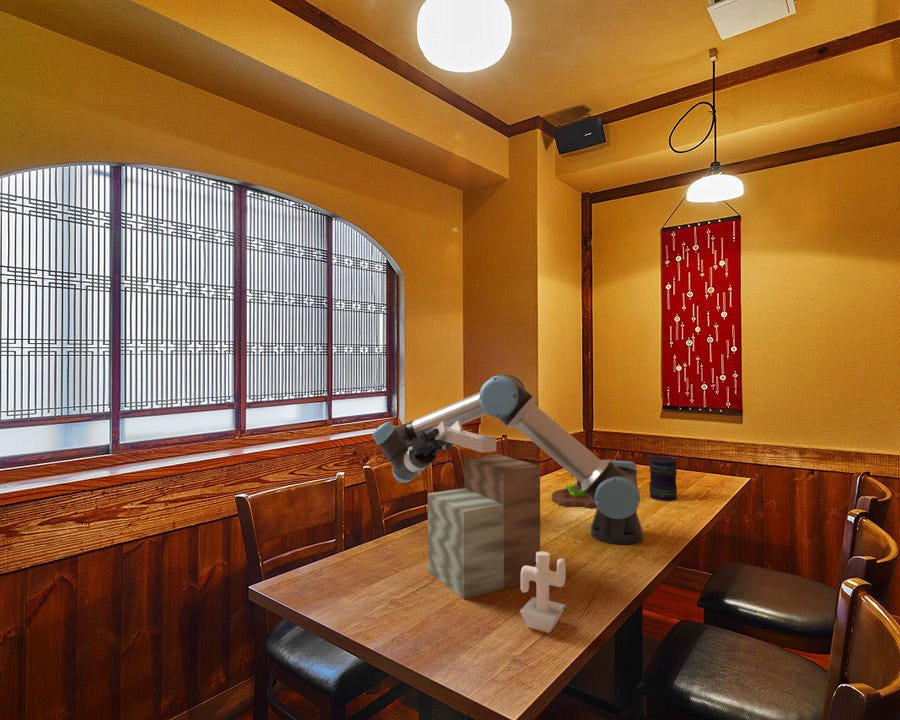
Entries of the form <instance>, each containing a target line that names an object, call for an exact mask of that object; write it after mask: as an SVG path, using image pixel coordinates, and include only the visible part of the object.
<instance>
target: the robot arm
mask: <svg viewBox="0 0 900 720" xmlns="http://www.w3.org/2000/svg"><path fill="white" fill-rule="evenodd" d="M486 415H489V416H490V417H493V418H497V419H498V420H500V421H501V422H502V423H503V424H504V425H505V426H507V427H508V428H517V429H518V430H519V431H520V432H521V433H523V434H524V435H525V436H526V437H527V438H528V439H529V440H530V441H531V442H533V443H534V444H535V445H536V446H537V447H538V448H540V449H541V450H542V451H543V452H544V453H545V454H547V455H548V456H549V457H550V458H552V459H553V460H554V461H555V462H556V463H557V464H559V465H560V466H561V467H562V468H563V469H564V470H565V471H566V472H568V473H569V475H570V474H571V475H573V477H574V479H576V481H577V480H578V481H579V482H581V486H582V491H583V492H584V493H585V494H586V495H587V496H589V497H590V498H591V499H592V500H593V501H594V502H595V504H596V506H597V508H596V509H595V513H594V516H593V519H592V522H591V525H590V535H591V536H592V537H593V538H594V539H596V540H598V541H600V542H603V543H609V544H615V545H633V544H637V543H640V542H642V541H643V539H644V537H643V535H644V532H643V527H642V525H641V524H642V523H641V521H640V519H639V515H638V513H637V509H638V508H639V504H640V501H641V492H640V490H639V487H638V482H637V481H638V479H637V478H638V477H637V476H638V474H637V473H638V469H637V464H636V463H635V462H633V461H629V460H617V459H615V460H614V459H600V458H599V457H598V456H596V455H595V454H594V453H593V452H592V451H591V450H589V449H588V448H587V447H586V446H585V445H584V444H582V443H581V442H580V441H579V440H578V439H576V437H574V436H572V434H571V433H569V432H568V431H567V430H565V429H564V428H563V427H562V426H561V425H560V424H559V423H557V422H556V421H555V420H554V419H553V418H551V417H550V416H549V415H548V414H546V412H544V411H543V410H541V409H540V407H538V406H537V405H536V404H535V397H534V396H533V395H532V394H531V393H530V392H529V391H527V390H526V388H525V386H524V383H523V382H522V381H521V380H520V379H519V378H518V377H516V376H515V375H510V374H503V375H495V376H492V377H490V378H489V379H487V380H486V381H485V382H484V383H483V384H482V386H481V388H480V390H479V392H476V393H474V394H472V395H470V396H467V397H464V398H462V399H460V400H458V401H456V402H453V403H451V404H448V405H447V406H444V407H441V408H439V409H437V410H435V411H432V412H430V413H427V414H425V415H423V416H420V417H418V418H416V419H413V420H411V421H408V422H406V423H404V424H401V425H398V426H395V425H394V424H393V423H392V422H391V421H386V422H384V423H383V424H381V425H380V426H378V427H377V428H376V429H374V430H373V432H372V434H371V436H372V438H373V440H374V441H375V443H376V445H377V446H378V447H379V449H380V450H381V451H382V453H383V454H384V455H385V457H386V458H387V460H389V462H390V464H391V466H392V470H391V471H392V475H393V477H394V479H395V480H396V481H398V482H399V483H404V484H405V483H409V482H411V481H413V480H414V479H415V478H416V477H418V475H420V474H421V473H422V472H423V471H424V470H425V469H426V468H427V467H428V466H430V465H431V464H432V463H433V462H434V461H435V459H436V457H437V454H438V453H439V452H441V451H442V450H445V451H447V452H448V451H450V450H451V448H452V447H453V446H454V445H455V444H452V443H449V442H445V441H442V440H439V438H440V437H441V436H442V435H443V434H444V433H445V432H446V431H447V427H451V428H455V429H459V430H463V429H464V428H463V425H464V424H466V423H469V422H471V421H474V420H477V419H479V418H481V417H483V416H486ZM446 426H447V427H446ZM432 427H436V428H435V429H433V430H432Z"/></svg>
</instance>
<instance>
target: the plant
mask: <svg viewBox="0 0 900 720" xmlns="http://www.w3.org/2000/svg"><path fill="white" fill-rule="evenodd" d="M573 477H574V476H573V475H571V474H570V473H569V478H573ZM564 487H565V488H561V489H556V490H555V491H553V492H552V493H551V501H553V502H554V503H553V502H552V503H553V504H556V503H557V504H556V505H558V506H559V507H560V506H564V507H563V508H572V507H585V508H584V509H587V508H590V509H597V506H596V504H595V502H594V501H593V500H592V499H591V498H590V497H589V496H587V495H586V494H585V493H584V492H583V491H582V486H581V482H579V481H578V480H577V479H576V482H575V483H573V484H572V483H569V486H568V485H564Z"/></svg>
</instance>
